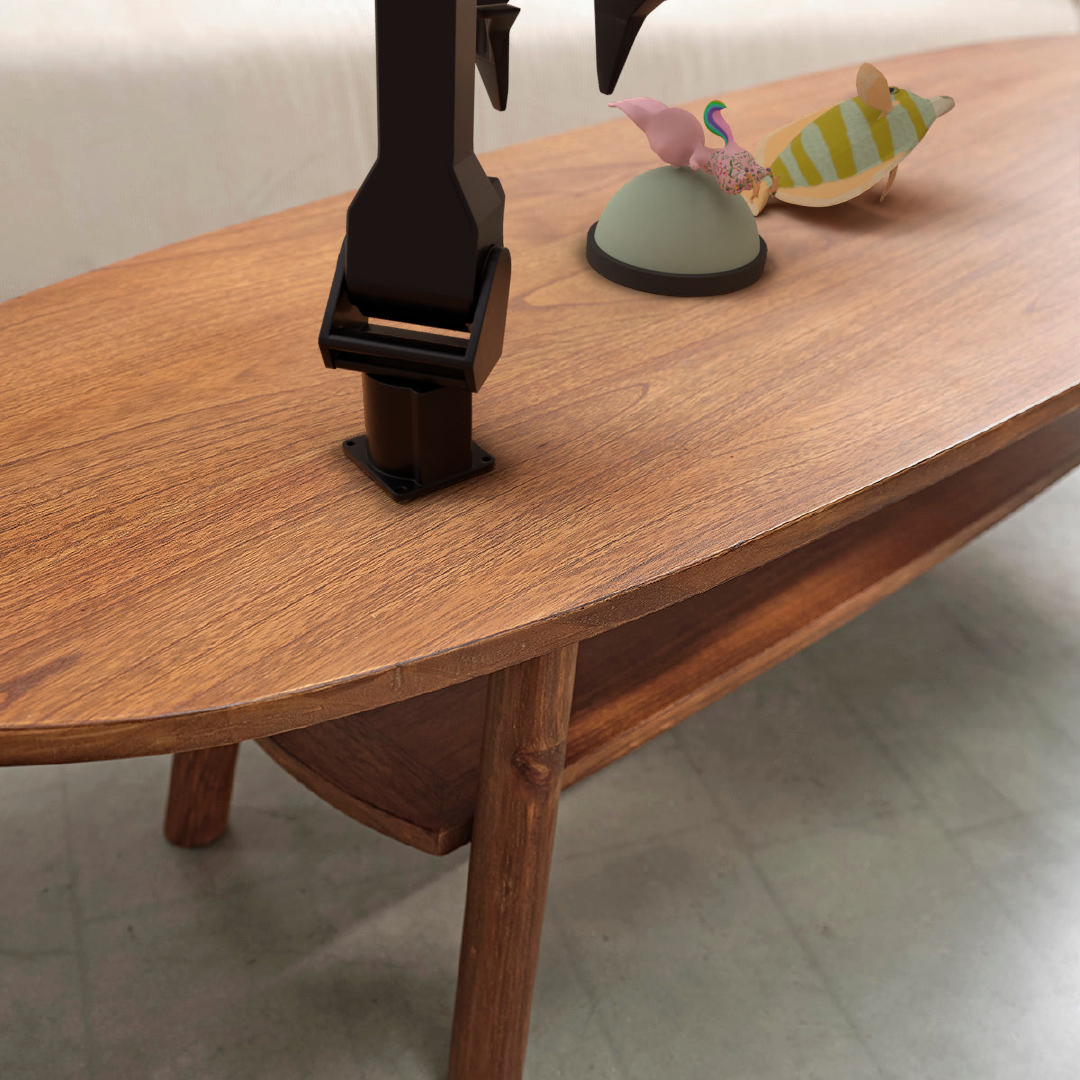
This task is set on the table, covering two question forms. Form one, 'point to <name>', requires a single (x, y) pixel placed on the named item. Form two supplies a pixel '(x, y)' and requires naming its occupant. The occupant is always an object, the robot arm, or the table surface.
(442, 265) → the robot arm
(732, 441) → the table surface
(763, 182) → the decorative fish sculpture
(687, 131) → the rabbit figure
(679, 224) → the dome on round base
